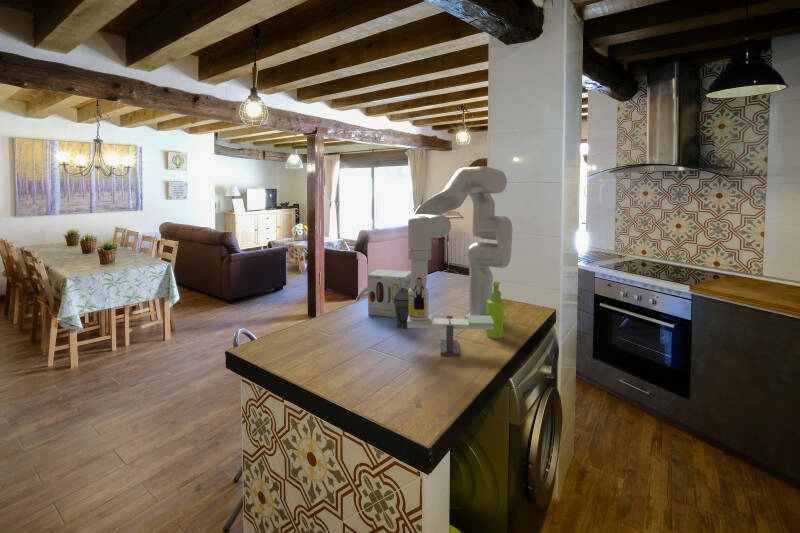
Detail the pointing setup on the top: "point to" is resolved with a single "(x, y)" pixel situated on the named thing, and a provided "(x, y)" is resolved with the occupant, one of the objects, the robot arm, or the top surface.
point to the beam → (454, 322)
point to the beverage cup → (401, 306)
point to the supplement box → (385, 290)
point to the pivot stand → (449, 342)
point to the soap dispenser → (495, 313)
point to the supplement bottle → (418, 314)
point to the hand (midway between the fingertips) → (419, 305)
